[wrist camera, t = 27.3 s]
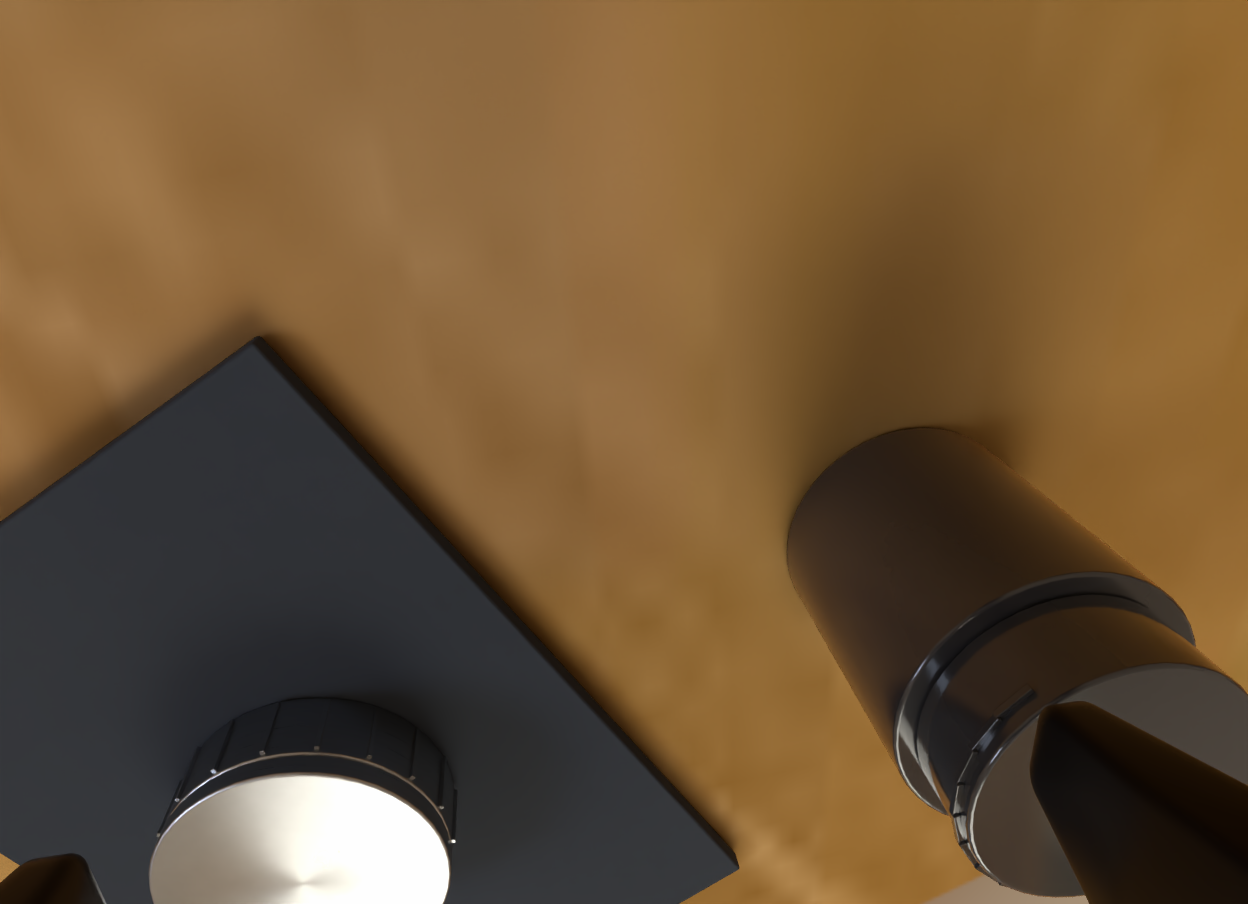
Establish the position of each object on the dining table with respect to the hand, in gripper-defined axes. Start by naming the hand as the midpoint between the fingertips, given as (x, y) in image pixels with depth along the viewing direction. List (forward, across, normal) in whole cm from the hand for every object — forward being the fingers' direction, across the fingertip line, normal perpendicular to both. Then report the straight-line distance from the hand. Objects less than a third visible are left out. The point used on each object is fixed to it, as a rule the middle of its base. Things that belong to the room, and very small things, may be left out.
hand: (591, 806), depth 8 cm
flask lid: (+10, +6, +11) cm, 16 cm away
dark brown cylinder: (+12, -9, +5) cm, 16 cm away
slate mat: (+12, +6, +11) cm, 17 cm away
